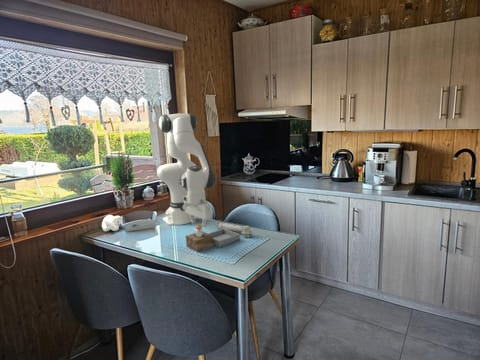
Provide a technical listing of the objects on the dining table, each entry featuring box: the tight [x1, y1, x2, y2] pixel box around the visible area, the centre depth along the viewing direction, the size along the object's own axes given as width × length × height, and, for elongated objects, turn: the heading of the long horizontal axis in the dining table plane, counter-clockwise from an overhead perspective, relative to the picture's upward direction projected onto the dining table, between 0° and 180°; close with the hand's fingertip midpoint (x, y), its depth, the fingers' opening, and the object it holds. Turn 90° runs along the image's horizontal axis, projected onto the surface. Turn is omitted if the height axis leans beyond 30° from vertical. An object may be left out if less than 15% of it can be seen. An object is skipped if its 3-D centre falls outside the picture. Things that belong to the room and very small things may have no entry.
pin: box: [195, 224, 203, 238], centre depth 163 cm, size 3×3×11 cm
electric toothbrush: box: [217, 222, 253, 239], centre depth 181 cm, size 5×7×25 cm
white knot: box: [101, 214, 123, 232], centre depth 195 cm, size 11×12×9 cm
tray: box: [208, 228, 241, 249], centre depth 170 cm, size 14×14×4 cm
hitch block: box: [185, 230, 214, 253], centre depth 163 cm, size 10×10×6 cm
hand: (198, 224), depth 161 cm, fingers open, 8 cm apart
